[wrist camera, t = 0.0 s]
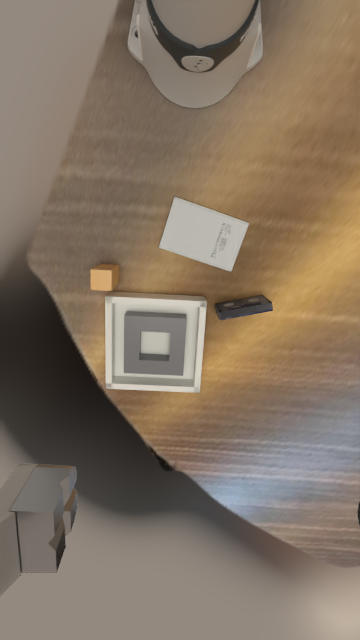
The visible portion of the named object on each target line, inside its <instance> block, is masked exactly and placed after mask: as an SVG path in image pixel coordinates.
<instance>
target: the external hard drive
mask: <svg viewBox="0 0 360 640" xmlns="http://www.w3.org/2000/svg"><path fill="white" fill-rule="evenodd" d="M248 225H249V223H247V222H245V221H242V220H239V219H236V218H234V217H231V216H228V215H225V214H223V213H220V212H217V211H214V210H211V209H209V208H206V207H203V206H200V205H197V204H195V203H192V202H189V201H186V200H183V199H180V198H177V197H174V200H173V203H172V206H171V210H170V213H169V216H168V219H167V223H166V226H165V229H164V232H163V235H162V239H161V242H160V245H159V248H161V249H164V250H167V251H170V252H173V253H176V254H179V255H182V256H185V257H188V258H191V259H194V260H197V261H200V262H203V263H206V264H209V265H212V266H215V267H218V268H221V269H224V270H227V271H230V272H231V271H232V268H233V266H234V263H235V260H236V257H237V255H238V252H239V249H240V247H241V244H242V241H243V239H244V236H245V233H246V231H247V228H248Z"/></svg>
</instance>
